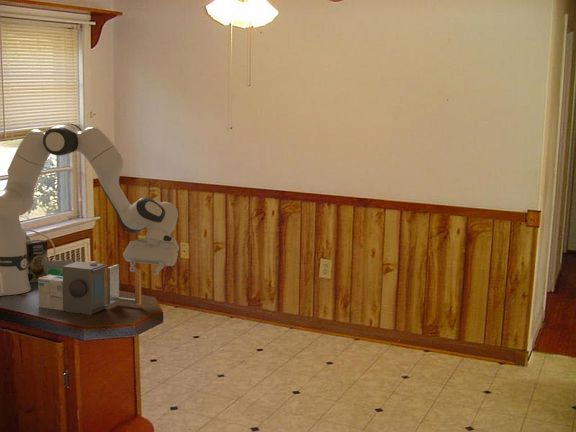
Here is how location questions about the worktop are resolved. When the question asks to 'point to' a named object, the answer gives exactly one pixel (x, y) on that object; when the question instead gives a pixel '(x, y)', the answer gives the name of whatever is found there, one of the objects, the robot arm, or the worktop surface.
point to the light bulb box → (51, 292)
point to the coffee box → (35, 259)
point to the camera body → (84, 287)
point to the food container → (54, 266)
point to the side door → (114, 286)
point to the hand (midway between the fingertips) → (143, 272)
